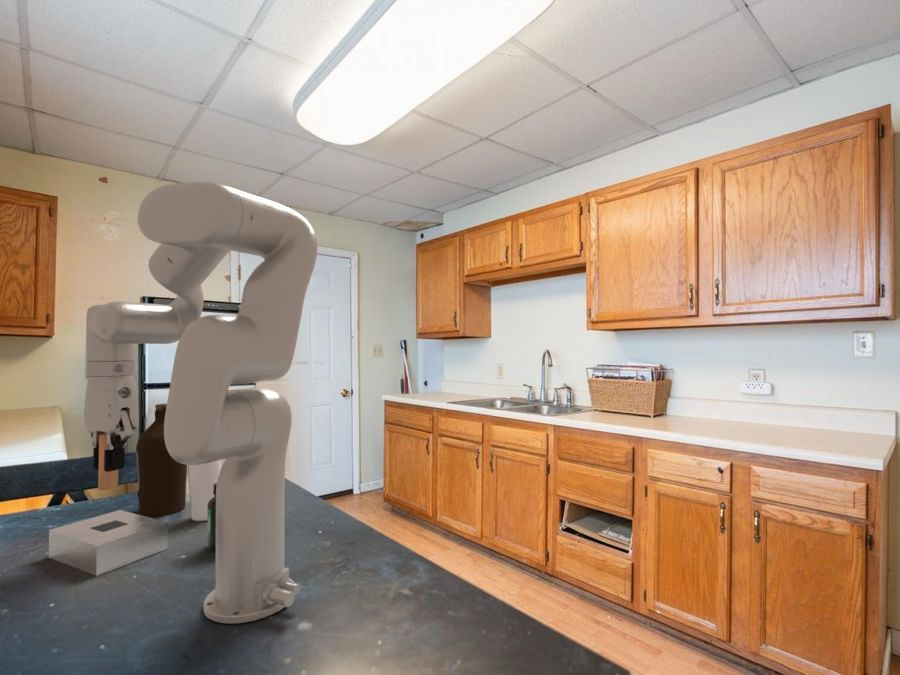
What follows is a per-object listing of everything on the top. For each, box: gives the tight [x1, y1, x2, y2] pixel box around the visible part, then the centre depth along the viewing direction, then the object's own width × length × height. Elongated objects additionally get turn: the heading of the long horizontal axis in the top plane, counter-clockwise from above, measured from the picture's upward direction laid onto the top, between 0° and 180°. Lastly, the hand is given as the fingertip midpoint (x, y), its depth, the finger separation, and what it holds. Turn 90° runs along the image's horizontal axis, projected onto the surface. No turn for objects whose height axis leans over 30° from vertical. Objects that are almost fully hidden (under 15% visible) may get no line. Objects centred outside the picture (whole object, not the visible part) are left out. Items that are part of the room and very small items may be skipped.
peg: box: [97, 433, 119, 491], centre depth 88 cm, size 3×3×10 cm
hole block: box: [48, 509, 169, 577], centre depth 88 cm, size 16×12×5 cm
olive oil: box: [135, 403, 188, 518], centre depth 112 cm, size 11×11×25 cm
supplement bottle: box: [206, 483, 217, 553], centre depth 91 cm, size 7×7×12 cm
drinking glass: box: [187, 459, 223, 522], centre depth 106 cm, size 7×7×15 cm
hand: (108, 467), depth 88 cm, fingers closed on peg, 3 cm apart
